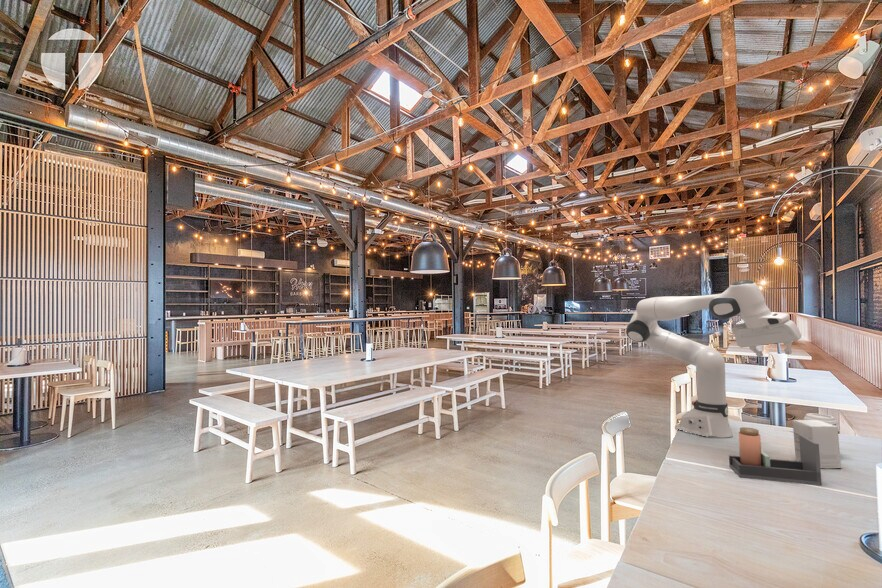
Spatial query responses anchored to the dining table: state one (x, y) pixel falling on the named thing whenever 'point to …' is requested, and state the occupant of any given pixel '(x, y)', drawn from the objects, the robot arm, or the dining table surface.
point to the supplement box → (819, 441)
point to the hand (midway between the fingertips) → (774, 354)
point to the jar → (750, 447)
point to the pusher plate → (765, 459)
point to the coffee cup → (821, 418)
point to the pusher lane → (785, 466)
